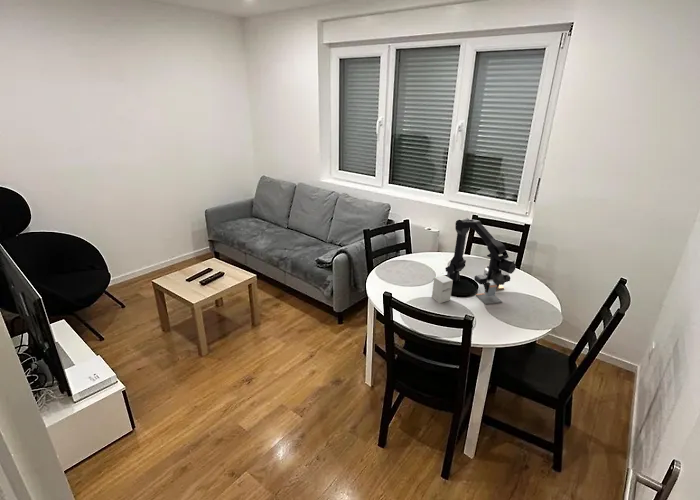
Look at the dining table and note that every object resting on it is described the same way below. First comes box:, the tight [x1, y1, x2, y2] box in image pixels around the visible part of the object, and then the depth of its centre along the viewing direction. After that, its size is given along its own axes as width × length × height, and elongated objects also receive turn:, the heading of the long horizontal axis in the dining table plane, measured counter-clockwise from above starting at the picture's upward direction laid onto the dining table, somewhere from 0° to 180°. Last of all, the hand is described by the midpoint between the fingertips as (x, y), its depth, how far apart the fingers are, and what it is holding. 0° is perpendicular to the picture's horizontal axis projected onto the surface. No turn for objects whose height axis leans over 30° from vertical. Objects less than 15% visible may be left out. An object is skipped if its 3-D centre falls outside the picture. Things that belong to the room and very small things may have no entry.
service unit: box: [483, 267, 505, 291], centre depth 224 cm, size 8×12×9 cm, turn 14°
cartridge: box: [483, 281, 497, 297], centre depth 209 cm, size 4×4×7 cm
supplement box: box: [431, 274, 453, 304], centre depth 208 cm, size 7×7×13 cm
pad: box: [475, 292, 503, 306], centre depth 211 cm, size 10×10×1 cm
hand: (489, 292), depth 209 cm, fingers closed on cartridge, 4 cm apart
